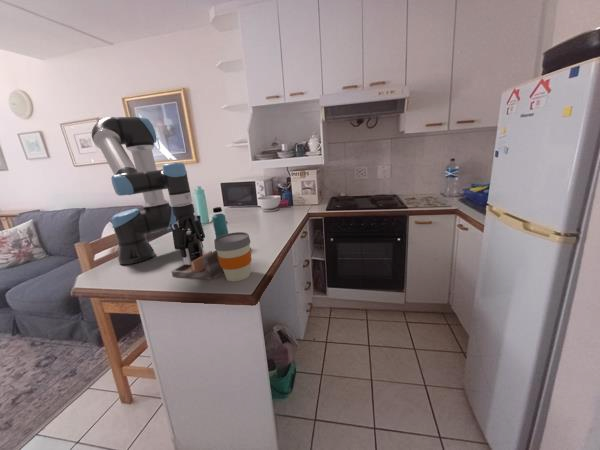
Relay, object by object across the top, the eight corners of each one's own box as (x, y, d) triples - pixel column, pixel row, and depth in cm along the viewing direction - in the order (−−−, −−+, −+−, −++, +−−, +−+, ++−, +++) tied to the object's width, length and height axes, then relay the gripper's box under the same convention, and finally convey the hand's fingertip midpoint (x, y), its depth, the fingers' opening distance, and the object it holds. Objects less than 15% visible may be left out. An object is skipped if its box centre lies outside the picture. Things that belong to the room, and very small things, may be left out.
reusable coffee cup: (260, 268, 102) (254, 231, 98) (247, 284, 91) (240, 243, 87) (231, 268, 105) (224, 232, 101) (214, 283, 94) (206, 243, 90)
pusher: (193, 274, 101) (190, 262, 100) (212, 262, 111) (209, 251, 110) (196, 274, 101) (193, 262, 100) (214, 262, 111) (212, 251, 109)
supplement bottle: (197, 265, 103) (191, 235, 100) (182, 265, 104) (175, 236, 101) (207, 258, 109) (201, 230, 106) (192, 258, 111) (186, 230, 108)
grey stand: (172, 276, 104) (167, 255, 101) (197, 261, 116) (193, 243, 114) (211, 279, 97) (207, 258, 95) (233, 263, 109) (230, 244, 107)
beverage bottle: (226, 243, 137) (219, 205, 132) (233, 245, 133) (226, 206, 127) (215, 247, 133) (207, 208, 128) (221, 249, 128) (213, 209, 123)
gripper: (169, 210, 90) (183, 271, 96) (207, 199, 108) (217, 251, 114) (153, 210, 93) (168, 270, 99) (193, 199, 111) (203, 250, 117)
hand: (194, 260), depth 107 cm, fingers closed on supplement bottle, 7 cm apart
